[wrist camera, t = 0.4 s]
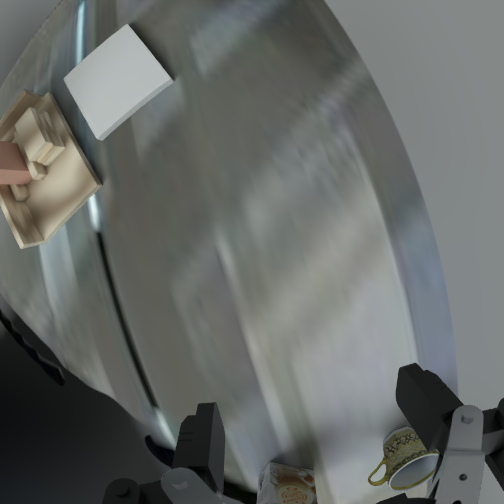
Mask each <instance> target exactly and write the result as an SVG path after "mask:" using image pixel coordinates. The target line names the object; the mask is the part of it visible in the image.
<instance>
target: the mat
mask: <svg viewBox="0 0 504 504" xmlns="http://www.w3.org/2000/svg"><path fill="white" fill-rule="evenodd" d="M64 81H65V83H66V85H67V87H68V89H69V91H70V92H71V94H72V96H73V98H74V100H75V101H76V103H77V105H78V107H79V109H80V110H81V112H82V114H83V116H84V117H85V119H86V121H87V123H88V124H89V126H90V128H91V130H92V131H93V133H94V135H95V136H96V138H97V139H98V140H101V141H103V140H104V139H105V138H106V137H107V136H108V135H109V134H110V133H111V132H112V131H114V130H115V129H116V128H117V127H118V126H119V125H120V124H122V123H123V122H124V121H125V120H126V119H127V118H129V117H130V116H131V115H132V114H133V113H135V112H136V111H137V110H138V109H139V108H141V107H142V106H143V105H144V104H146V103H147V102H148V101H149V100H151V99H152V98H153V97H155V96H156V95H157V94H159V93H160V92H161V91H163V90H164V89H165V88H167V87H168V86H169V85H171V84H172V83H173V82H174V81H173V80H172V79H171V77H170V76H169V75H168V74H167V72H166V71H165V70H164V69H163V67H162V66H161V65H160V63H159V62H158V61H157V60H156V58H155V57H154V56H153V55H152V53H151V52H150V51H149V50H148V48H147V47H146V46H145V45H144V43H143V42H142V41H141V40H140V39H139V37H138V36H137V35H136V34H135V32H134V31H133V30H132V29H131V28H130V26H129V25H128V24H126V25H125V26H124V27H122V28H121V29H120V30H118V31H117V32H116V33H115V34H113V35H112V36H111V37H110V38H108V39H107V40H106V41H105V42H103V43H102V44H101V45H100V46H99V47H97V48H96V49H95V50H94V51H93V52H91V53H90V54H89V55H88V56H87V57H86V58H85V59H84V60H82V61H81V62H80V63H79V64H78V65H77V66H76V67H75V68H74V69H73V70H72V71H71V72H70V73H69V74H68V75H67V76H66V77H65V78H64Z"/></svg>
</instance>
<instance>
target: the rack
mask: <svg viewBox="0 0 504 504" xmlns="http://www.w3.org/2000/svg"><path fill="white" fill-rule="evenodd" d="M29 107H32V108H35V109H36V111H37V113H39V114H40V112H41V111H45V112H48V114H49V116H50V118H51V120H52V122H53V124H54V126H55V128H56V130H57V132H58V134H59V136H60V138H61V140H62V142H63V144H64V146H65V149H64V150H63V151H62V152H61V153H60V154H59V155H58V156H57V157H56V158H55V160H54V161H53V162H52V163H51V164H50V165H49V166H47V165H43V164H42V163H38V162H37V161H36V162H35V161H29V159H28V156H27V154H26V152H25V149H24V147H23V145H22V142H21V140H20V137H19V135H18V132H17V130H16V127H15V124H16V123H17V122H18V120H19V119H20V118H21V117H22V115H23V114H24V113H25V112H26V110H27V109H28V108H29ZM0 141H4V142H10V143H16V144H18V146H19V148H20V151H21V153H22V156H23V158H24V160H25V162H26V165H27V167H28V169H29V171H30V174H31V176H32V179H31V180H30V182H29V183H28V184H27V185H20V184H0V205H1V207H2V210H3V212H4V214H5V217H6V219H7V221H8V223H9V226H10V228H11V230H12V232H13V234H14V236H15V238H16V240H17V242H18V244H19V246H20V248H21V249H23V248H27V247H31V246H35V245H40V244H44V243H47V242H48V241H49V240H50V239H51V238H52V237H53V235H54V234H55V233H56V232H57V231H58V230H59V229H60V228H61V227H62V226H63V225H64V224H65V222H66V221H67V220H68V219H69V218H70V217H71V216H72V215H73V214H74V213H75V212H76V211H77V210H78V209H79V208H80V207H81V206H82V205H83V204H84V203H85V202H86V201H87V200H88V199H89V198H90V197H91V196H92V195H93V194H94V193H95V192H96V191H97V190H98V189H99V188H100V187H101V186H103V185H102V184H101V182H100V180H99V179H98V177H97V175H96V174H95V172H94V170H93V169H92V167H91V165H90V163H89V162H88V160H87V158H86V156H85V155H84V153H83V151H82V149H81V148H80V146H79V144H78V142H77V140H76V139H75V137H74V135H73V133H72V131H71V129H70V128H69V126H68V124H67V122H66V120H65V118H64V116H63V114H62V112H61V110H60V108H59V106H58V104H57V102H56V100H55V98H54V96H53V95H52V94H50V93H48V92H47V93H46V95H45V96H44V97H43V96H40V95H38V94H35V93H33V92H30V91H28V90H24V91H23V92H22V93H21V94H20V96H19V97H18V98H17V99H16V100H15V102H14V103H13V104H12V105H11V107H10V108H9V109H8V111H7V112H6V113H5V115H4V116H3V117H2V119H1V120H0Z"/></svg>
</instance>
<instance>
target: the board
mask: <svg viewBox="0 0 504 504" xmlns="http://www.w3.org/2000/svg"><path fill="white" fill-rule="evenodd" d="M31 179H32V176H31V174H30V171H29V169H28V167H27V165H26V162H25V160H24V158H23V156H22V153H21V151H20V148H19V146H18V144H16V143H10V142H4V141H0V184H20V185H27V184H28V183H29V182H30V180H31Z"/></svg>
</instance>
